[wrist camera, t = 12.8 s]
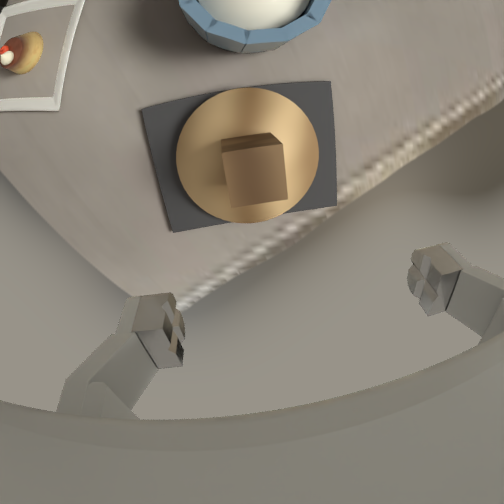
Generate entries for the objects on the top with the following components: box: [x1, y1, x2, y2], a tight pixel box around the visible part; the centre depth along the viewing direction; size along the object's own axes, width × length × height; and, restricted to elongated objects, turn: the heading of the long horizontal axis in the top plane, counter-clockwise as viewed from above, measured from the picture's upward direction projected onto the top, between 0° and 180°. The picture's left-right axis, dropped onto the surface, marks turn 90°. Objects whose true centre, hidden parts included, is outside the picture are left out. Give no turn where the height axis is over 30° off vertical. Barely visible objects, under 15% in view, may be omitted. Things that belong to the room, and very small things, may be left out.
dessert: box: [0, 0, 85, 112], centre depth 14 cm, size 12×12×5 cm
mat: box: [142, 81, 337, 233], centre depth 24 cm, size 16×12×1 cm
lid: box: [176, 88, 319, 223], centre depth 21 cm, size 12×12×6 cm
